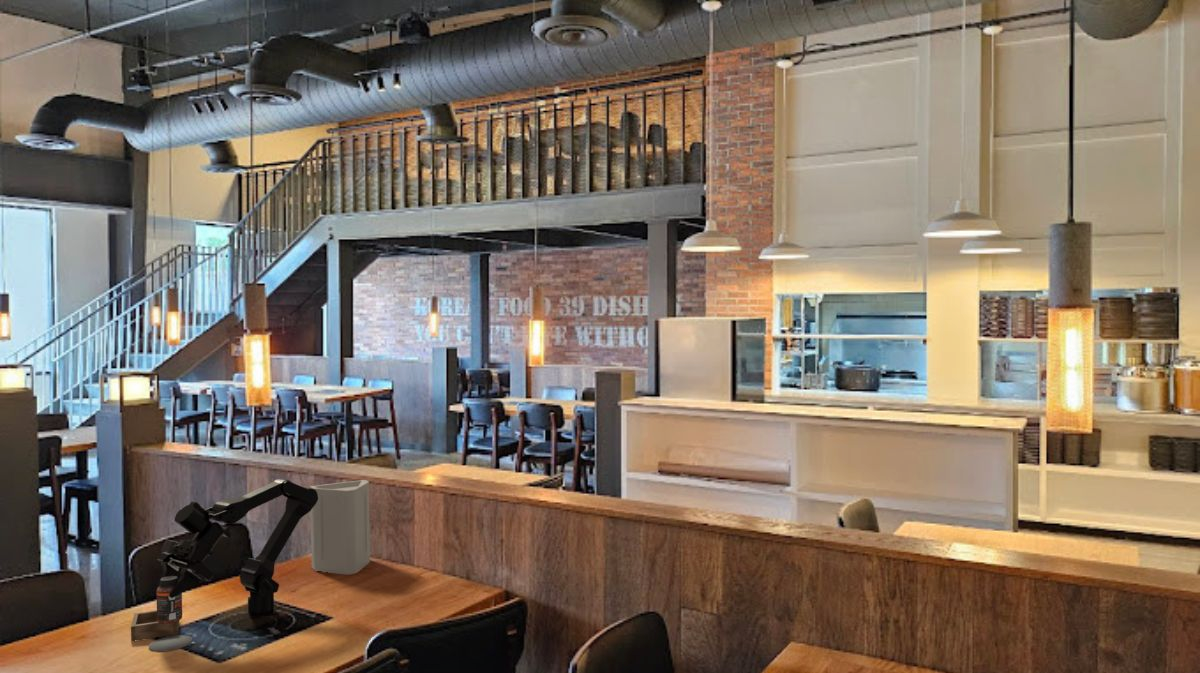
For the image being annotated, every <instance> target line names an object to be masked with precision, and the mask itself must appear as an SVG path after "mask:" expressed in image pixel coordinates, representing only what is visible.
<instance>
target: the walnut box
mask: <svg viewBox="0 0 1200 673" xmlns="http://www.w3.org/2000/svg"><path fill="white" fill-rule="evenodd" d="M130 624H131V625H130V642H131V641H133V642H136V641H135V640H139V641H144V640H143V639H146V640H151V639H150V638H152V639H157V638H156V637H159V638H164V636H165V637H168V636H175V635H179V629H180V628H179V627H180V620H179V621H177V622H175V623H170V624H160V623H158V622H157V609H154V610H149V611H147V610H146V611H140V612H135V613H134V614H133V618H132V621H131V623H130Z"/></svg>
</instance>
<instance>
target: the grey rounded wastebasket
mask: <svg viewBox="0 0 1200 673" xmlns="http://www.w3.org/2000/svg"><path fill="white" fill-rule="evenodd" d="M309 488H312V489H315V490H316V491H317V494H318V501H317V503H316V504H315V506H314V507H313V508H312V510H311V511H310V537H311V538H310V539H311V540H310V542H311V569H312V568H313V569H314V570H315V571H314V570H313V569H312V570H313V571H314V572H317V571H322V572H321V573H326V572H328V573H329V574H337V575H347V576H348V575H354V574H357V573H358V572H359V571H361V570H362V569H363V568H364V567H366V566H367V565H368V564H369V563H371V533H370V531H371V526H370V518H371V517H370V516H371V515H370V481H369V480H367V479H361V480H352V481H343V482H334V483H327V484H325V483H324V484H317V485H311V486H309ZM328 573H327V574H328Z"/></svg>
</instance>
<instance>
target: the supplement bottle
mask: <svg viewBox="0 0 1200 673" xmlns="http://www.w3.org/2000/svg"><path fill="white" fill-rule="evenodd" d="M178 580H179V578H178V579H177V576H167V577H163V578H160V580H159V583H160V584H161V586H160V587H158V586H157V589H156V590H157V591H156V610H157V622H158V623H160V624H170V623H175V622H177V621H179V622H180V621H181V620H182V619H183V592H182V593H180V594H178V595H177V596H175V597H173V598H171V597H169V594H170V593H171V591H172V589H173V588H174V586H175V584H176V583H177V581H178Z"/></svg>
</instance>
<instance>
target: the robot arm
mask: <svg viewBox="0 0 1200 673" xmlns="http://www.w3.org/2000/svg"><path fill="white" fill-rule="evenodd" d="M280 496H282V497H284V498H286V502H285V511H284V513H283V514H282V516H281V517H280V519H279V521H278V523H277V525H276V527H275V528H274V529H273V531H272V533H271V535H270V536H269V538H268V540H267V541H266V544H265V545H264V546H263V548H262V550H261V551H260V553H259V554H258V555H257V556H256V557H255V558H251V557H249V558H247V560H246V561H245V565H244V566H243V567H242V568H241V569H240V572H241V573H240V576H239V579H240V580H239V582H240V583H241V584H240V585H242V586H243V587H244V590H245V591H246V592H249V596H248V597H247V613H248V615H249V618H257V617H262V616H263V617H264V616H270V615H271V616H272V615H275V614H276V611H275V598H274V597H275V595H274V594H275V593H277V592H279V586H280V584H279V583H278V582H277V581H275V579H273V577H274V574H275V566H276V565H275V563H276V561H277V559H278V557H279V556H280V555H281V552H283V549H284V548H285V545H286V544H287V543H288V541H289V539H290V537H291V536H292V534H293V532H294V530H295V529H296V527H297V525H298V523H299V522H300V520H301V519H302V518H303V517H304V516H306V515H307V514H308V513H311V510H312V508H313V507H314V506H315V504H316V503H317V501H318V494H317V491H316V490H315V489H312V488H310V487H305V486H301V485H298V484H296V483H294V482H292V481H290V479H289V480H288V479H285V478H284V479H282V478H278V479H275V480H274V481H272V482H271V483H269V484H266V485H264V486H261V487H260V488H257V489H255V490H254V491H251V492H249V493H247V494H244V495H242V496H238V497H232V498H227V499H223V500H218V501H217V502H215V503H214V504H213V506H211V507H208V508H205V509H204V508H203V507H202V506H201V505H200V503H198V502H197V501H191V502H190V503H189V504H187V505H185V506H183V507H182V508H181V509H179V510H178V511H177V512H176V515H174V522H175V523H176V524H178V525H179V526H180V527H182V529H184V530H186V531H187V532H189V534H193V535H194V537H192V539H186V540H185V539H181V540H180V541H175V540H170V539H165V542H164V543H163V546H162V548H161V553H160V554H159V556H158V557H157V561H159V562H160V563H161V566H162V574H161V578H163V577H167V576H177V579H178V581H177V583H176V584H175V586H174V588H173V589H172V591H171V593H170V594H169V597H171V598H173V597H175V596H177V595H178V594H180V593H182V594H183V592H184V591H187V590H188V589H189V588H191V587H193V586H195V585H198V584H199V583H202V582H203V580H204V581H207V582H210V581H211V580H212V578H213V577H214V575H215V571H214V569H213V568H211V567H210V566H209V565H207V564H206V563H204V560H205V559H206V558H207V557H212V556H213V554H214V552H213V551H212V550H213V548H214V547H215V546H216V544H217V543H218V542H219V540H220V539H222V537H225V538H230V537H231V531H230V527H229V526H223V525H221V524H226V525H234V524H235V523H237V522H238V521H240V520H242V519H243V518H245V517H246V515H247V514H248V513H249V512H250V511H251V510H253V509H256V508H257V507H260V506H262V505H264V504H266V503H268V502H270V501H273V500H274V499H277V498H279V497H280ZM211 520H214V521H215V522H213V521H211ZM220 523H221V524H220ZM161 578H160V579H161ZM160 586H161V584H160V582H159V583H158V586H157V588H158V587H160ZM156 591H157V589H156Z"/></svg>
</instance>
